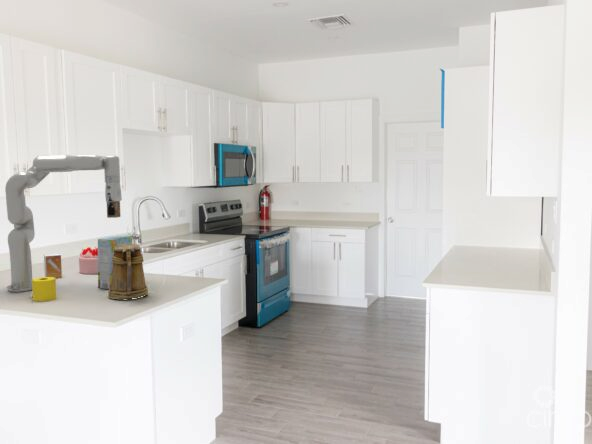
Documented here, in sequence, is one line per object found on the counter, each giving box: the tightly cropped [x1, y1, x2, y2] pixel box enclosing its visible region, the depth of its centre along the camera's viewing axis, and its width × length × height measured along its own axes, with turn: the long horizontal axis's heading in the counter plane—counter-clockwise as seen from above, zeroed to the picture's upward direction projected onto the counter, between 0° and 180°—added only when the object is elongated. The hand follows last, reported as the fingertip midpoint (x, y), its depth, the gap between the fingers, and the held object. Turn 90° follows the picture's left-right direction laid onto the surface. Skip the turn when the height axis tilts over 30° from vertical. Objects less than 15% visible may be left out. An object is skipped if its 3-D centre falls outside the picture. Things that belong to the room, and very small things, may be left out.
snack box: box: [97, 234, 133, 290], centre depth 278 cm, size 22×9×26 cm, turn 168°
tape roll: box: [32, 276, 57, 302], centre depth 250 cm, size 10×10×9 cm
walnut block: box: [106, 201, 121, 219], centre depth 276 cm, size 5×5×8 cm
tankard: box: [108, 243, 149, 301], centre depth 251 cm, size 18×24×25 cm
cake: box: [78, 246, 98, 275], centre depth 317 cm, size 20×20×14 cm
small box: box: [43, 253, 63, 279], centre depth 299 cm, size 8×6×13 cm
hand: (113, 214), depth 276 cm, fingers closed on walnut block, 5 cm apart
